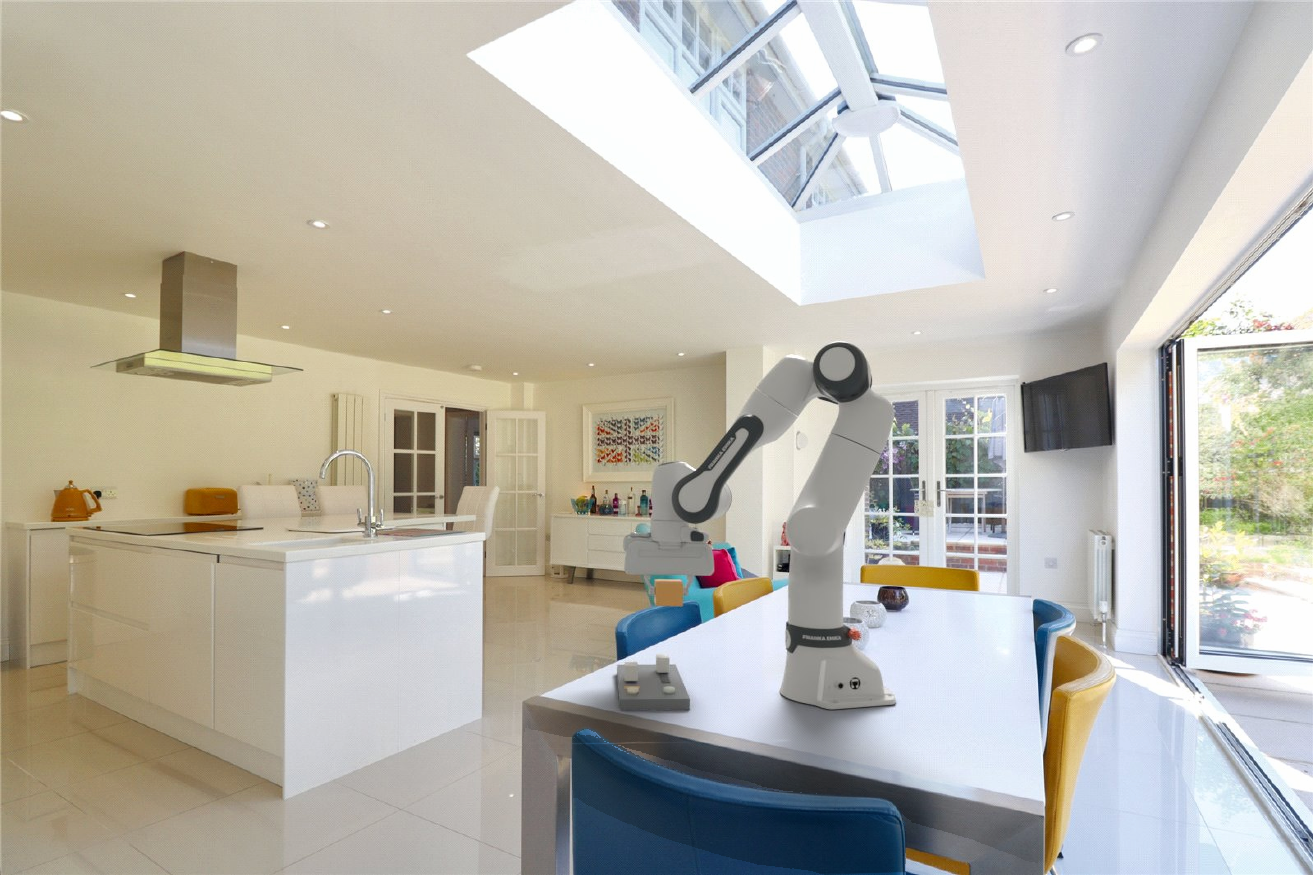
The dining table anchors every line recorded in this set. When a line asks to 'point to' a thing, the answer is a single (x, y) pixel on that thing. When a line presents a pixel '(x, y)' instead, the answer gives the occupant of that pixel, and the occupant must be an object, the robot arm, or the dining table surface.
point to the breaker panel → (652, 690)
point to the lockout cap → (668, 592)
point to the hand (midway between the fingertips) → (668, 595)
